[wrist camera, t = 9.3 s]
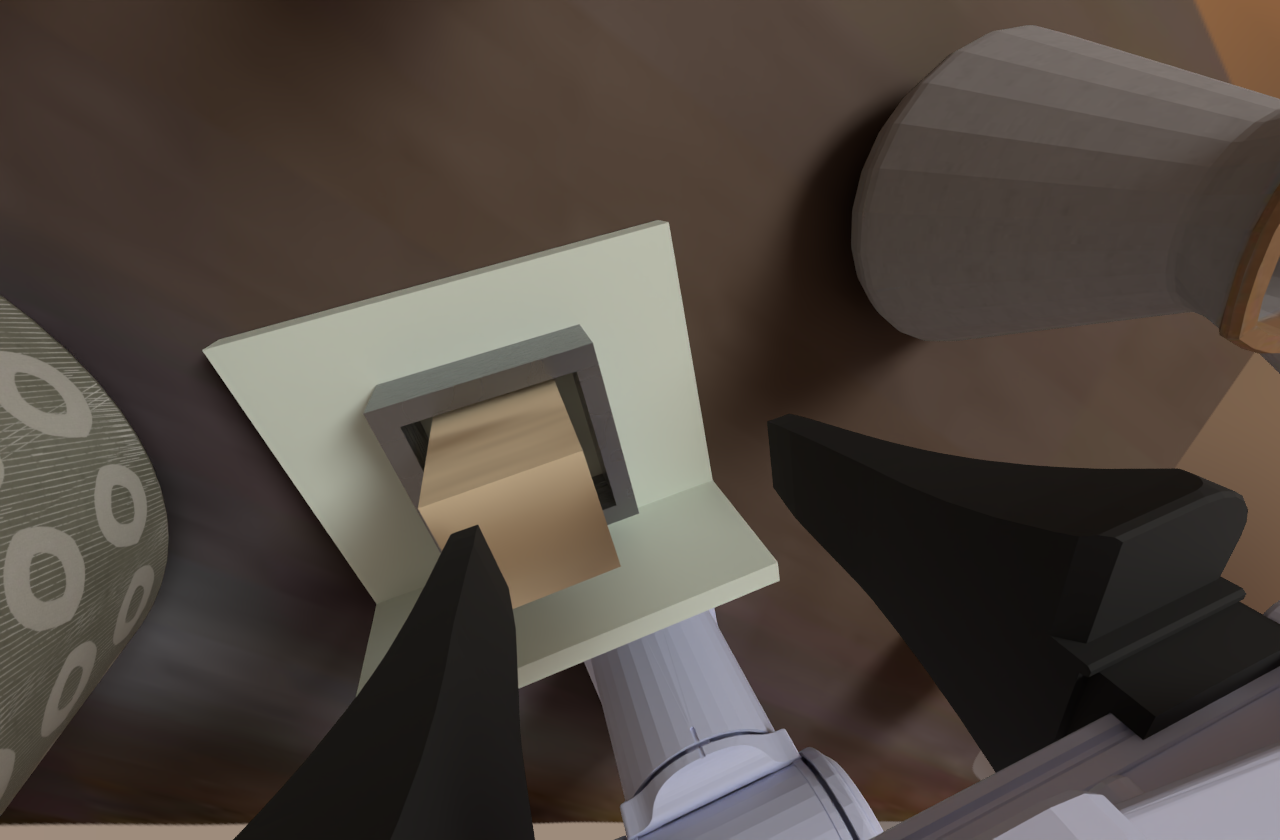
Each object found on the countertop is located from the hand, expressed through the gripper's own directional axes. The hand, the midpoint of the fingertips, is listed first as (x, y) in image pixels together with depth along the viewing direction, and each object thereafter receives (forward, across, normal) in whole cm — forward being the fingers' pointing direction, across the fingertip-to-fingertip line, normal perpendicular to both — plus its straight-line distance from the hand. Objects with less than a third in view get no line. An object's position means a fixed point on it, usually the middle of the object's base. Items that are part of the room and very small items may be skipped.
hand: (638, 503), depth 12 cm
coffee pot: (+11, -20, +2) cm, 23 cm away
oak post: (+9, +3, +2) cm, 10 cm away
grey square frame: (+9, +3, +3) cm, 10 cm away
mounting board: (+10, +3, +2) cm, 11 cm away
